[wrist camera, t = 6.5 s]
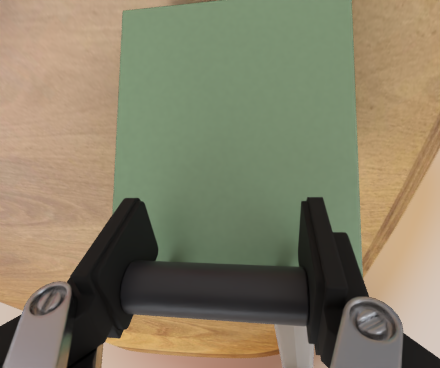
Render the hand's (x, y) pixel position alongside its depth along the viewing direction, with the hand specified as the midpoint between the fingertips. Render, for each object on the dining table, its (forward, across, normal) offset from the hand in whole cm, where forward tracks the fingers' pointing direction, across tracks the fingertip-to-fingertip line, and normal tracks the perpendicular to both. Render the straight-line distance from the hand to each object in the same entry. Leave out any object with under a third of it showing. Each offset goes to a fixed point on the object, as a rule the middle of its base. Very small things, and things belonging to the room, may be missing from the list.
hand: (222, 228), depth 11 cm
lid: (+4, 0, -1) cm, 4 cm away
